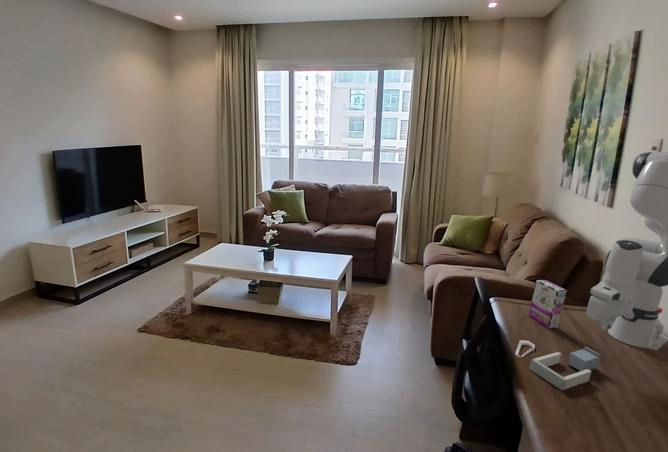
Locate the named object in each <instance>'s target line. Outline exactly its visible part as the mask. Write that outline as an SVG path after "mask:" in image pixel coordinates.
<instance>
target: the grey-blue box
mask: <svg viewBox="0 0 668 452" xmlns="http://www.w3.org/2000/svg"><path fill="white" fill-rule="evenodd" d="M600 358H601V353H599V352H598V351H595V350H593V349H591V348H590V347H588V346H584V347H583V349H579V350H575V351H572V352H570V353H569V356H568V361H567V364H568V366H569V367H570V368H573V369H574V368H575V369H576V370H577V371H578V372H580V371H583V370H586V369H588V370H590V371H591V372H592V371H594V370H596V368H598V365H599V362H600Z"/></svg>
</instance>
